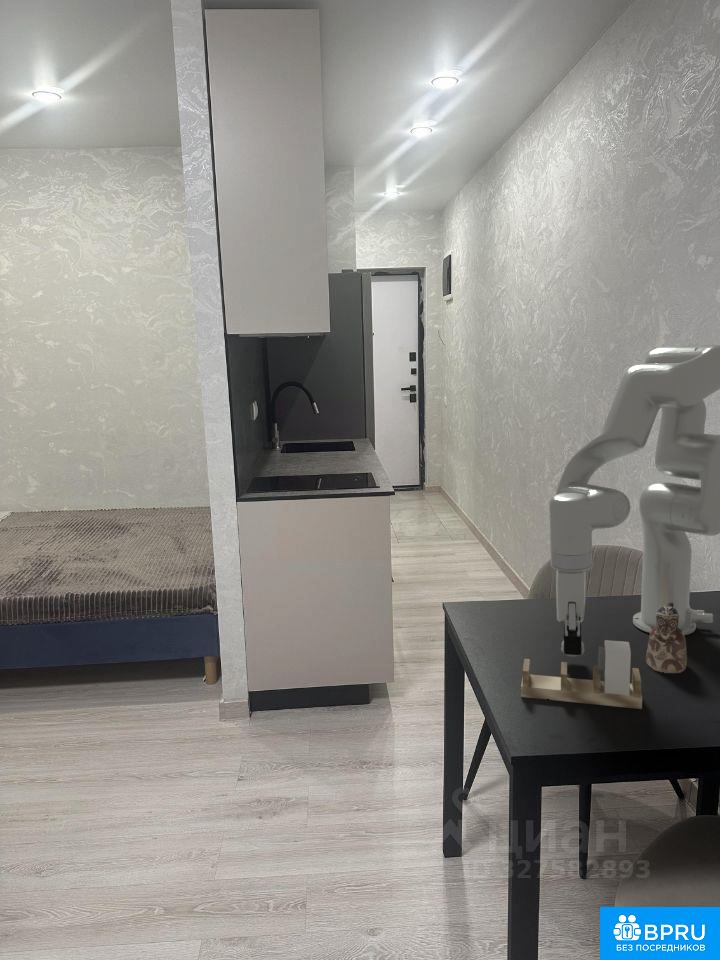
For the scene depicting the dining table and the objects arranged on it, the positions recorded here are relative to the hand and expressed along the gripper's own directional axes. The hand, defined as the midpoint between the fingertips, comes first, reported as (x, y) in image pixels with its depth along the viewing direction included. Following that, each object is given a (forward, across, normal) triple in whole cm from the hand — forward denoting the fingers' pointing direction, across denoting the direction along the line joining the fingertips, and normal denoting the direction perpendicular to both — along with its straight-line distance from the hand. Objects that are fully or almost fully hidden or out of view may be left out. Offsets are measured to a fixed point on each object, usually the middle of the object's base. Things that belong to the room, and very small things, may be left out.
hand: (572, 647), depth 135 cm
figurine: (+4, -3, +17) cm, 18 cm away
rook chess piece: (+1, 0, 0) cm, 1 cm away
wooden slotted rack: (+3, +13, +1) cm, 13 cm away
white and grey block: (+1, +13, +7) cm, 15 cm away
